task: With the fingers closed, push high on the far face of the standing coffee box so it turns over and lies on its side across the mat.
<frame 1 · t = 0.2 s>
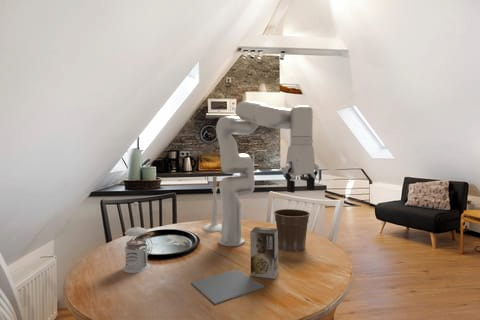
hand: (300, 190, 103), 30 cm above the table, tool pointing down, fingers open, 9 cm apart
mat: (227, 285, 97), on the table
candlestick: (214, 229, 164), on the table
coffee box: (264, 274, 106), on the table
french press: (138, 268, 111), on the table
plant pot: (291, 247, 134), on the table
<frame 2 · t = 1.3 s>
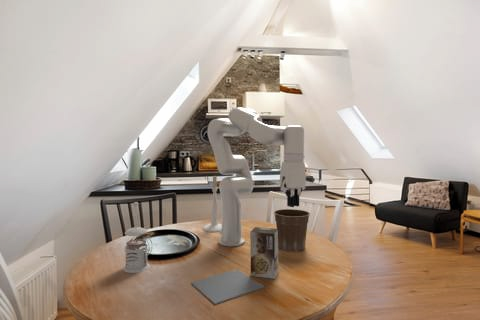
hand: (293, 205, 112), 23 cm above the table, tool pointing down, fingers closed
nothing on the table moved.
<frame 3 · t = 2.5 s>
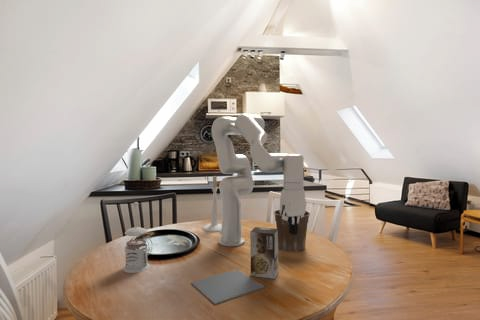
hand: (293, 233, 113), 12 cm above the table, tool pointing down, fingers closed
nothing on the table moved.
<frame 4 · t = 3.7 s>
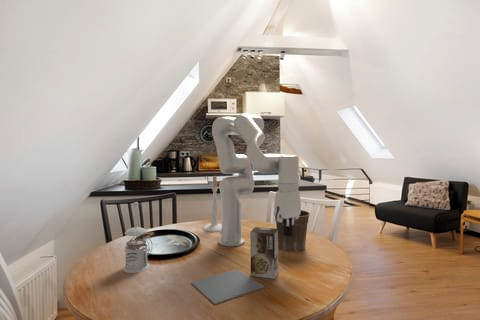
hand: (287, 235, 112), 12 cm above the table, tool pointing down, fingers closed
nothing on the table moved.
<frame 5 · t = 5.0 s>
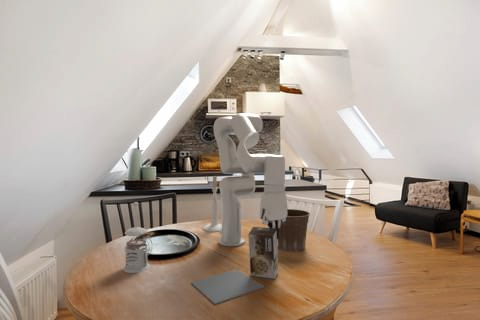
hand: (274, 238, 108), 12 cm above the table, tool pointing down, fingers closed
coffee box: (264, 273, 106), on the table, touching gripper
everything else where it was.
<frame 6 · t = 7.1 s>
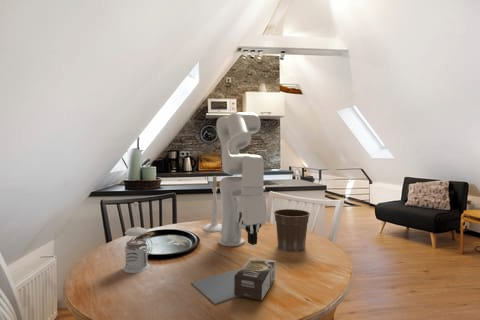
hand: (252, 243, 102), 12 cm above the table, tool pointing down, fingers closed
coffee box: (262, 267, 103), point 4 cm above the table, touching mat
everything else where it was.
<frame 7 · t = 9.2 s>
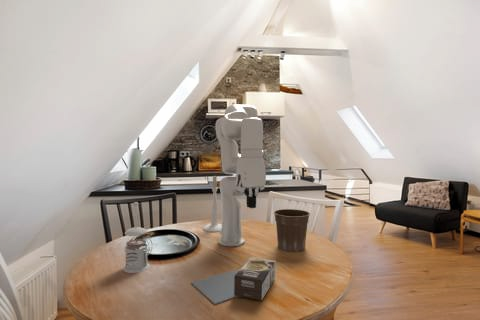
hand: (251, 207, 101), 25 cm above the table, tool pointing down, fingers closed
nothing on the table moved.
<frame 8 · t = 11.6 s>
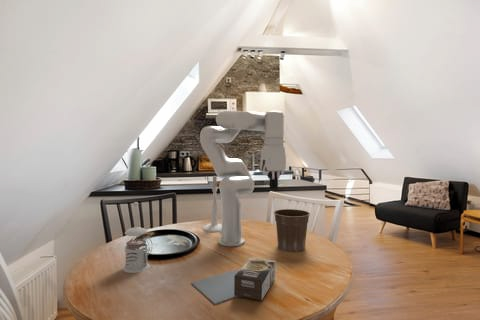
hand: (273, 188, 117), 29 cm above the table, tool pointing down, fingers closed
nothing on the table moved.
at the end: coffee box tilted 90°; coffee box inside the target area (4.7 cm from its centre), point 3.6 cm above the table; coffee box touching mat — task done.
